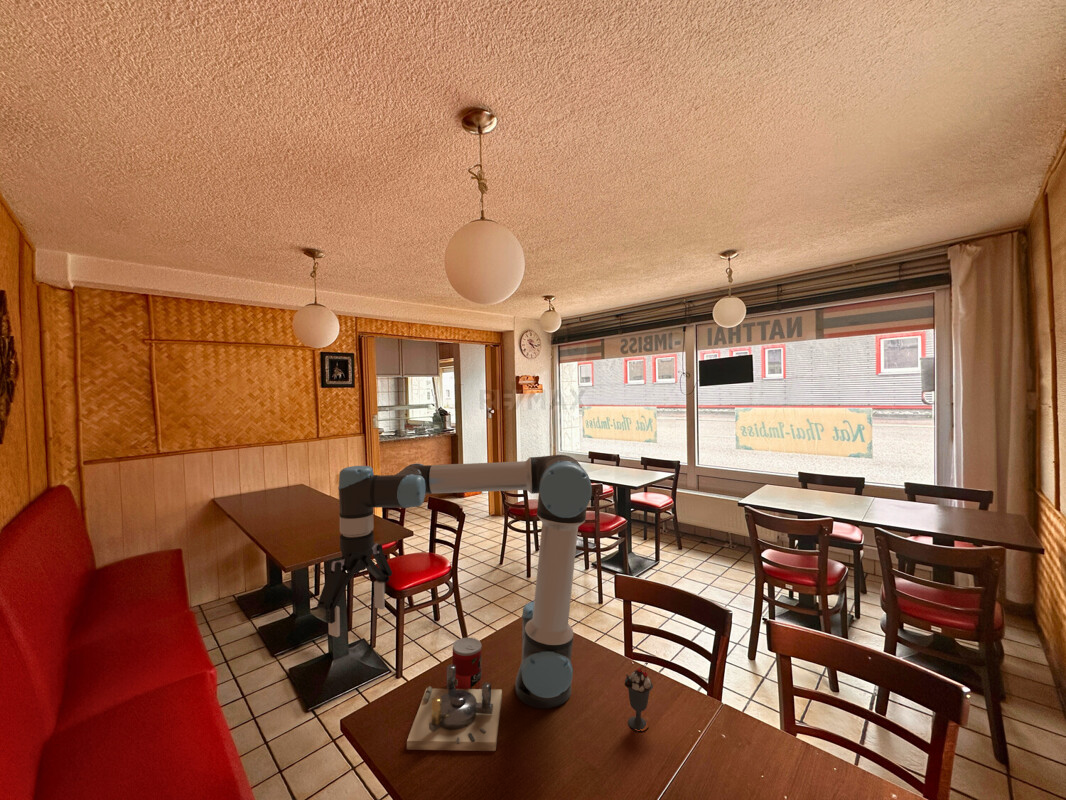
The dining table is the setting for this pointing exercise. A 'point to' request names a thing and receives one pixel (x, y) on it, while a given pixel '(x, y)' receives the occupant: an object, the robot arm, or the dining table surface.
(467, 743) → the stand
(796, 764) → the dining table surface
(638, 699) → the sundae
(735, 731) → the dining table surface
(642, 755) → the dining table surface
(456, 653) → the canned food
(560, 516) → the robot arm
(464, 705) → the cam capstan
